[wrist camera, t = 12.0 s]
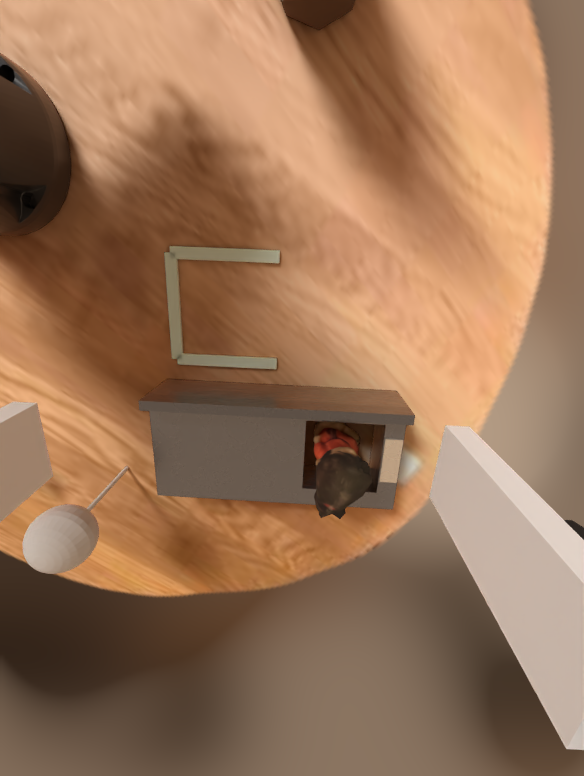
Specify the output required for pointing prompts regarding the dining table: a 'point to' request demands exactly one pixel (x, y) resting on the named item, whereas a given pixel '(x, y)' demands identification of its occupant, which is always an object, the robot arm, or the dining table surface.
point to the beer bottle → (317, 11)
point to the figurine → (338, 468)
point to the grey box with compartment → (265, 439)
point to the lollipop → (63, 536)
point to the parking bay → (175, 306)
